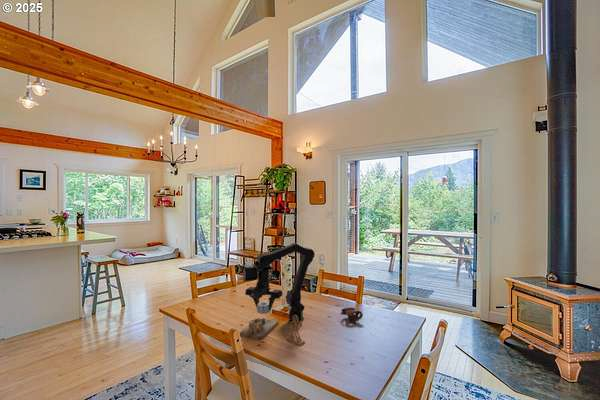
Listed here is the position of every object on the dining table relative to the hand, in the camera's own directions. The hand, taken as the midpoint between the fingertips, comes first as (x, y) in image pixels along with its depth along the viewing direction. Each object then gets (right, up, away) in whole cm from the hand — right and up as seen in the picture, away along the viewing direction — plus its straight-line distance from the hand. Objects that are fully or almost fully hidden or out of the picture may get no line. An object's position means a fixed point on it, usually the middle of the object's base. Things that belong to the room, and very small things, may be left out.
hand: (263, 309), depth 147 cm
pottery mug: (+46, -9, +6) cm, 47 cm away
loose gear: (0, -1, 0) cm, 1 cm away
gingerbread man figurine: (+16, -9, -16) cm, 25 cm away
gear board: (-1, -9, -4) cm, 10 cm away
